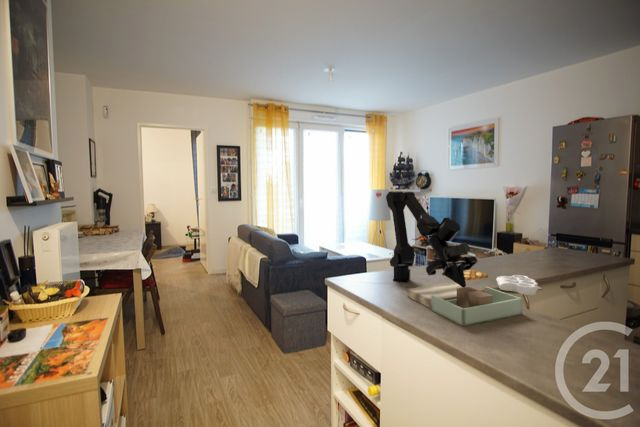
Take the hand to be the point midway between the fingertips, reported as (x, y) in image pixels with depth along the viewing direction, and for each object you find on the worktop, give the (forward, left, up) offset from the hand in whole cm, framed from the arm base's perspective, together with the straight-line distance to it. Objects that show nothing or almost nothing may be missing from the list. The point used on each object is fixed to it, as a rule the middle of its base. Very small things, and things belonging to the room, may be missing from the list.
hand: (464, 286), depth 111 cm
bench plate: (-7, +7, -7) cm, 12 cm away
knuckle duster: (+20, +31, -8) cm, 37 cm away
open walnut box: (-1, +1, -4) cm, 4 cm away
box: (+4, -3, -7) cm, 9 cm away
